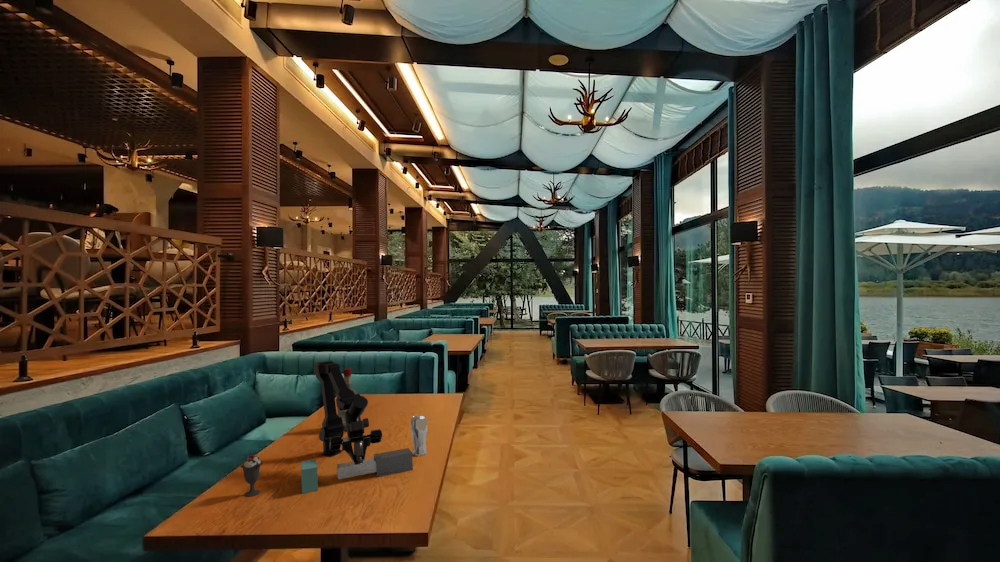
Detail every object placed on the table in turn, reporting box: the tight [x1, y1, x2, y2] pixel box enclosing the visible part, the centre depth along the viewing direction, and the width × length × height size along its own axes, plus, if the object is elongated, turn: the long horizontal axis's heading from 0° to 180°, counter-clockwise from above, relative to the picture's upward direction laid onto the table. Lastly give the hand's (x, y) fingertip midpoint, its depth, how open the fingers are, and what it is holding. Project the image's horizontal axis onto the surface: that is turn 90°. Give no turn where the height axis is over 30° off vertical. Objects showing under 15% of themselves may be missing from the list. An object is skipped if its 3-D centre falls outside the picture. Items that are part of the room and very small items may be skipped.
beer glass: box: [410, 415, 428, 457], centre depth 194 cm, size 7×7×15 cm
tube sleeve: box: [373, 447, 414, 478], centre depth 176 cm, size 13×6×6 cm, turn 115°
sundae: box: [240, 451, 263, 498], centre depth 160 cm, size 7×7×15 cm
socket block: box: [300, 458, 319, 494], centre depth 164 cm, size 5×9×8 cm, turn 25°
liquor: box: [336, 368, 359, 432], centre depth 234 cm, size 9×9×30 cm
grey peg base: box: [336, 441, 377, 480], centre depth 173 cm, size 25×4×12 cm, turn 115°
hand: (359, 460), depth 170 cm, fingers closed on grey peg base, 3 cm apart
